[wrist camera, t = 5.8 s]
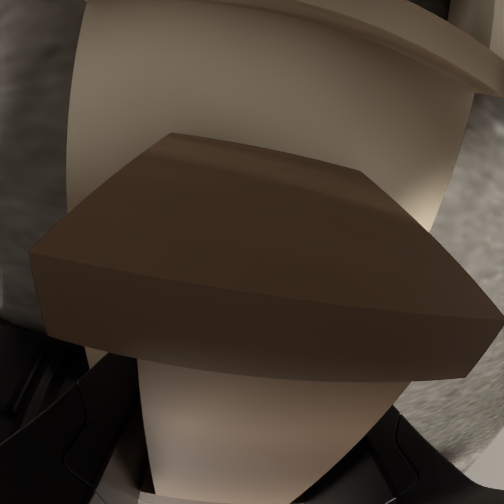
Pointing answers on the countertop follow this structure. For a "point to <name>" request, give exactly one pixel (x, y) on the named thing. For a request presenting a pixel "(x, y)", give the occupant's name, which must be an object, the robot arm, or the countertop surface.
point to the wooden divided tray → (267, 225)
